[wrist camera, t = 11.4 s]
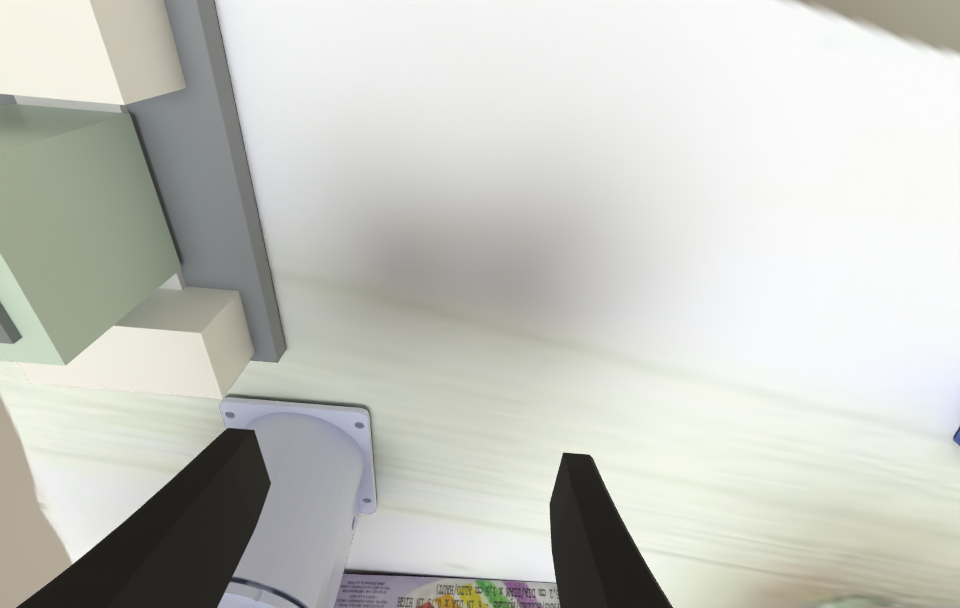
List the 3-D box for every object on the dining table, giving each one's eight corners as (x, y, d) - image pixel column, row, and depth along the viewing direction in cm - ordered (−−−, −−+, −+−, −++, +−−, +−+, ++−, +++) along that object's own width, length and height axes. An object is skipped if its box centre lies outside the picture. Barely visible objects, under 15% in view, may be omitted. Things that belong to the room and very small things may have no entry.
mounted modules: (254, 353, 21) (222, 399, 19) (84, 338, 21) (29, 383, 19) (157, -23, 13) (79, -29, 11) (-118, -50, 13) (-260, -61, 11)
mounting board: (286, 349, 23) (275, 366, 21) (83, 332, 22) (62, 349, 21) (209, -19, 14) (186, -21, 13) (-114, -50, 14) (-165, -54, 13)
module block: (181, 268, 19) (57, 372, 13) (83, 260, 19) (-80, 361, 13) (129, 113, 15) (-63, 171, 10) (9, 103, 15) (-247, 156, 10)
